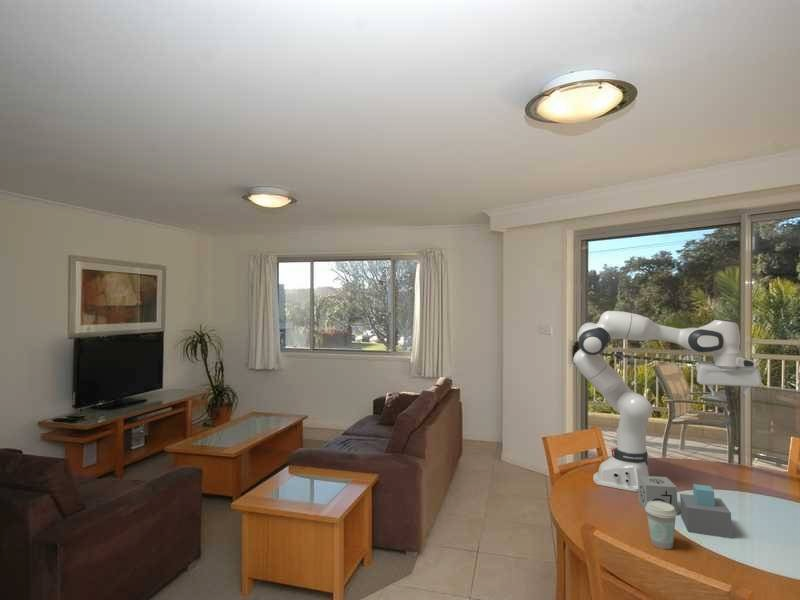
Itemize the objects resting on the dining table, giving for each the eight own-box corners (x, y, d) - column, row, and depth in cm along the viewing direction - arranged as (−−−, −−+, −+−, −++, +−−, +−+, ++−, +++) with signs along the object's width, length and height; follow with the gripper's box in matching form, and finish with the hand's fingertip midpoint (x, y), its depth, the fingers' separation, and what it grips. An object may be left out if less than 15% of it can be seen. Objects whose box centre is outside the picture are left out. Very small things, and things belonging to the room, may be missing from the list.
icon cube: (677, 515, 158) (676, 487, 159) (647, 513, 160) (645, 485, 161) (667, 503, 168) (666, 477, 168) (638, 501, 170) (637, 475, 171)
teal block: (696, 504, 148) (696, 489, 149) (693, 498, 153) (693, 484, 153) (714, 506, 146) (714, 491, 147) (711, 500, 151) (710, 486, 151)
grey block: (688, 532, 146) (686, 507, 146) (681, 516, 157) (680, 493, 158) (732, 538, 142) (730, 512, 142) (721, 522, 153) (720, 498, 153)
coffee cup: (640, 538, 143) (639, 500, 143) (665, 537, 143) (664, 499, 144) (658, 552, 134) (656, 512, 135) (684, 550, 135) (683, 510, 135)
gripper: (697, 361, 173) (698, 397, 173) (762, 362, 165) (764, 399, 165) (693, 359, 179) (695, 394, 178) (756, 360, 171) (758, 396, 170)
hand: (728, 397), depth 172 cm, fingers open, 8 cm apart
